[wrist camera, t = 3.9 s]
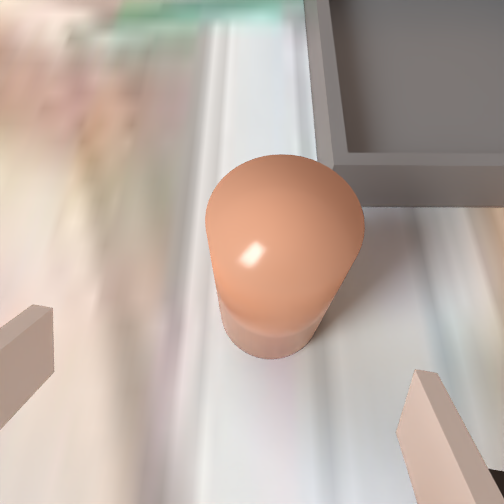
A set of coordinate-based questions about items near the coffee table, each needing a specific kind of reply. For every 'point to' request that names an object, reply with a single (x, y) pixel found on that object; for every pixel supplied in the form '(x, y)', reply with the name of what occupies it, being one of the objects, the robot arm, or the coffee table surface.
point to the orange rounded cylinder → (280, 249)
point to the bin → (410, 99)
